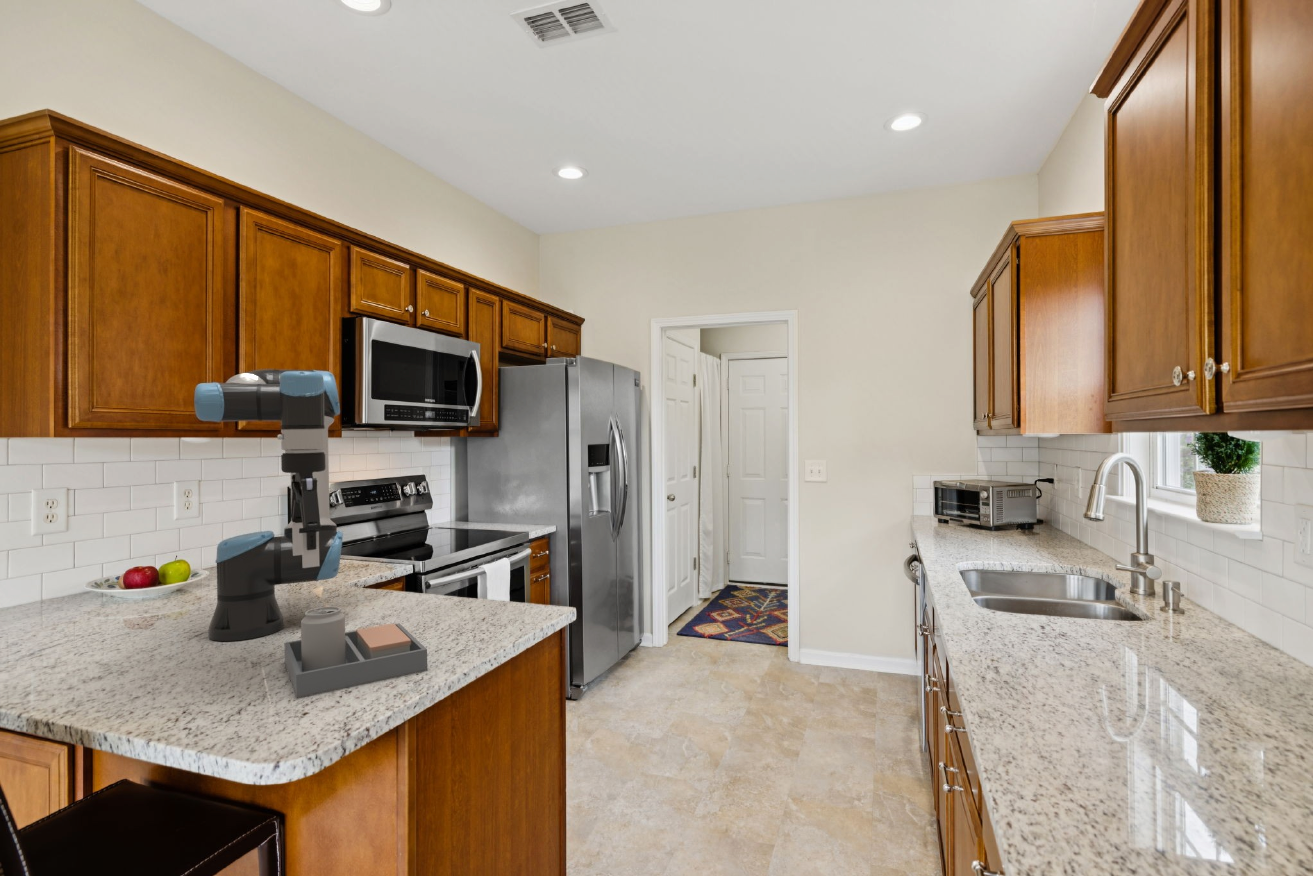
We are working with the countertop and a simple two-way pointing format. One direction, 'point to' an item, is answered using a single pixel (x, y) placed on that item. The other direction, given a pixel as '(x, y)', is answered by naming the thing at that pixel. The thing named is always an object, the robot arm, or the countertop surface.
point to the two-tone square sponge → (382, 641)
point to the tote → (352, 667)
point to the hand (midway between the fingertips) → (305, 560)
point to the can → (323, 638)
